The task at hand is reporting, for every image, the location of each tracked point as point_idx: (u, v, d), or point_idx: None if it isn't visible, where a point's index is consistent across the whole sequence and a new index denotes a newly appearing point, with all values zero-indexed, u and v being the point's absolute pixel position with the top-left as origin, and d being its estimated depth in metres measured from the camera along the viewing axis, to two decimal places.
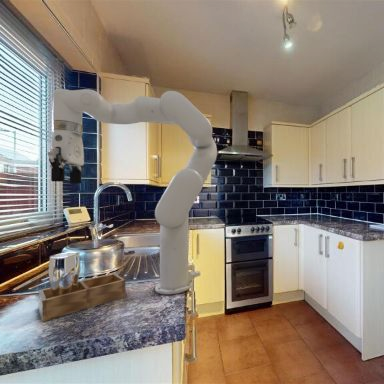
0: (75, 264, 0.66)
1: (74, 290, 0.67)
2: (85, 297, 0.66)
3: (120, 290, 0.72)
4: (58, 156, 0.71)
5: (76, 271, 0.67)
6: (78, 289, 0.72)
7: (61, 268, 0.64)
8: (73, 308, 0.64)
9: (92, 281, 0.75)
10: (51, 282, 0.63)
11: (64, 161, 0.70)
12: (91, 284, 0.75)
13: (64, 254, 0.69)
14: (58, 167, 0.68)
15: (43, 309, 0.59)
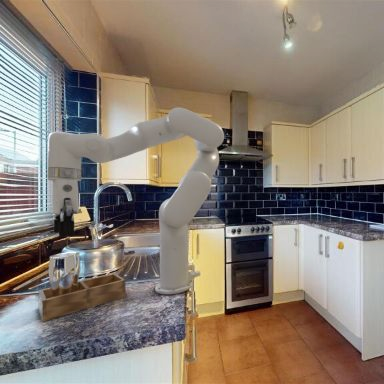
0: (75, 264, 0.66)
1: (74, 290, 0.67)
2: (85, 297, 0.66)
3: (120, 290, 0.72)
4: (62, 207, 0.64)
5: (76, 271, 0.67)
6: (78, 289, 0.72)
7: (61, 268, 0.64)
8: (73, 308, 0.64)
9: (92, 281, 0.75)
10: (51, 282, 0.63)
11: None
12: (91, 284, 0.75)
13: (64, 254, 0.69)
14: (70, 221, 0.63)
15: (43, 309, 0.59)
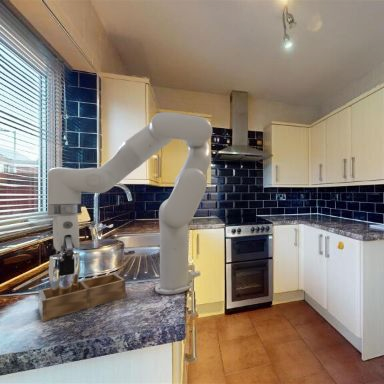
0: (75, 264, 0.66)
1: (74, 290, 0.67)
2: (85, 297, 0.66)
3: (120, 290, 0.72)
4: (63, 245, 0.64)
5: (76, 271, 0.67)
6: (78, 289, 0.72)
7: None
8: (73, 308, 0.64)
9: (92, 281, 0.75)
10: (51, 282, 0.63)
11: None
12: (91, 284, 0.75)
13: None
14: (70, 260, 0.64)
15: (43, 309, 0.59)
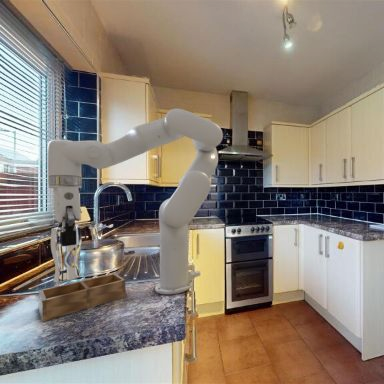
0: (77, 236, 0.67)
1: (76, 262, 0.67)
2: (85, 297, 0.66)
3: (120, 290, 0.72)
4: (64, 216, 0.64)
5: (78, 243, 0.67)
6: (78, 289, 0.72)
7: None
8: (73, 308, 0.64)
9: (92, 281, 0.75)
10: (53, 253, 0.64)
11: (74, 222, 0.66)
12: (91, 284, 0.75)
13: None
14: (72, 231, 0.64)
15: (43, 309, 0.59)
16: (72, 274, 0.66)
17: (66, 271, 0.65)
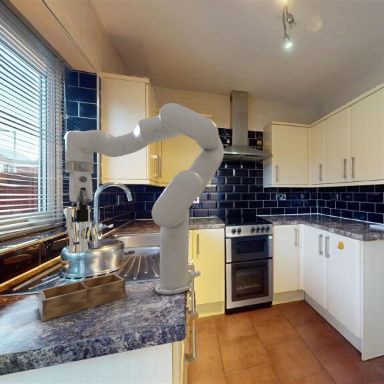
0: (88, 214, 0.77)
1: (88, 237, 0.78)
2: (85, 297, 0.66)
3: (120, 290, 0.72)
4: (79, 196, 0.75)
5: (89, 220, 0.77)
6: (78, 289, 0.72)
7: None
8: (73, 308, 0.64)
9: (92, 281, 0.75)
10: (69, 228, 0.74)
11: None
12: (91, 284, 0.75)
13: None
14: (85, 209, 0.75)
15: (43, 309, 0.59)
16: (84, 247, 0.76)
17: (79, 244, 0.75)
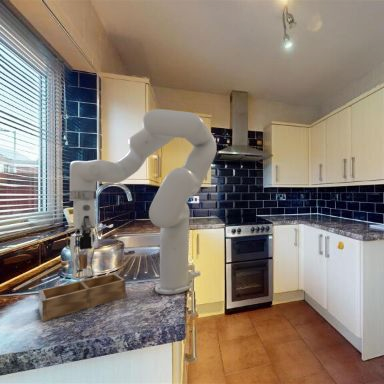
0: (91, 241, 0.80)
1: (90, 262, 0.80)
2: (85, 297, 0.66)
3: (120, 290, 0.72)
4: (82, 224, 0.78)
5: (92, 247, 0.80)
6: (78, 289, 0.72)
7: None
8: (73, 308, 0.64)
9: (92, 281, 0.75)
10: (72, 255, 0.77)
11: None
12: (91, 284, 0.75)
13: None
14: (88, 236, 0.78)
15: (43, 309, 0.59)
16: (87, 272, 0.79)
17: (82, 269, 0.78)
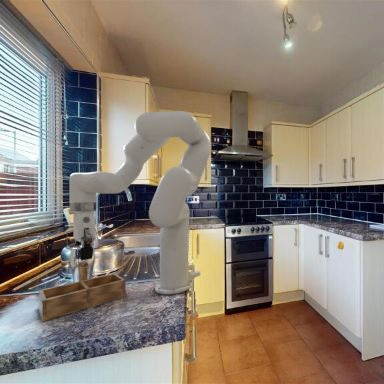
0: None
1: (90, 275, 0.80)
2: (85, 297, 0.66)
3: (120, 290, 0.72)
4: None
5: (92, 260, 0.80)
6: (78, 289, 0.72)
7: (80, 257, 0.77)
8: (73, 308, 0.64)
9: (92, 281, 0.75)
10: (72, 268, 0.77)
11: None
12: (91, 284, 0.75)
13: None
14: (89, 247, 0.77)
15: (43, 309, 0.59)
16: None
17: None
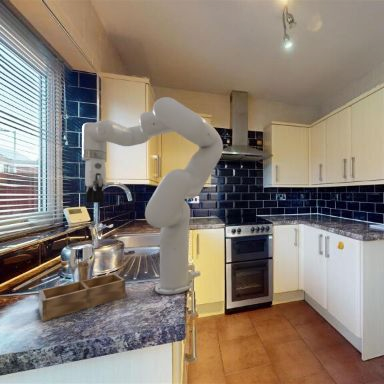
0: (91, 254, 0.80)
1: (90, 275, 0.80)
2: (85, 297, 0.66)
3: (120, 290, 0.72)
4: (94, 181, 0.83)
5: (92, 260, 0.80)
6: (78, 289, 0.72)
7: (80, 257, 0.77)
8: (73, 308, 0.64)
9: (92, 281, 0.75)
10: (72, 268, 0.77)
11: None
12: (91, 284, 0.75)
13: (82, 246, 0.83)
14: (101, 191, 0.82)
15: (43, 309, 0.59)
16: None
17: None
